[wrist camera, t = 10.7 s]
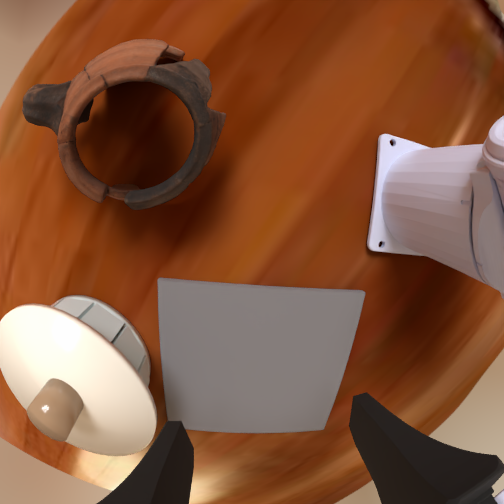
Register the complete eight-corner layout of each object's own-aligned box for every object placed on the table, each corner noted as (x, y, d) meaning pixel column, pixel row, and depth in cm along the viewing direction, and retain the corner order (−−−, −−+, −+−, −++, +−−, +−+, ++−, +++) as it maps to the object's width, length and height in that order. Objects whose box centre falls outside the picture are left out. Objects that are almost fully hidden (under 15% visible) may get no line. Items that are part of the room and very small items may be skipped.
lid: (183, 368, 14) (172, 414, 11) (138, 468, 16) (130, 501, 13) (0, 266, 12) (-37, 285, 8) (7, 396, 14) (-12, 420, 11)
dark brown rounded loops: (228, 50, 15) (257, 56, 9) (197, 169, 21) (206, 236, 15) (60, 40, 11) (-7, 51, 5) (52, 159, 17) (5, 222, 11)
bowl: (146, 303, 18) (122, 340, 13) (156, 407, 21) (144, 449, 16) (35, 287, 17) (-2, 311, 13) (59, 384, 20) (37, 417, 15)
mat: (362, 290, 19) (365, 292, 19) (322, 426, 22) (323, 429, 22) (159, 277, 18) (157, 280, 17) (169, 423, 21) (168, 426, 21)
